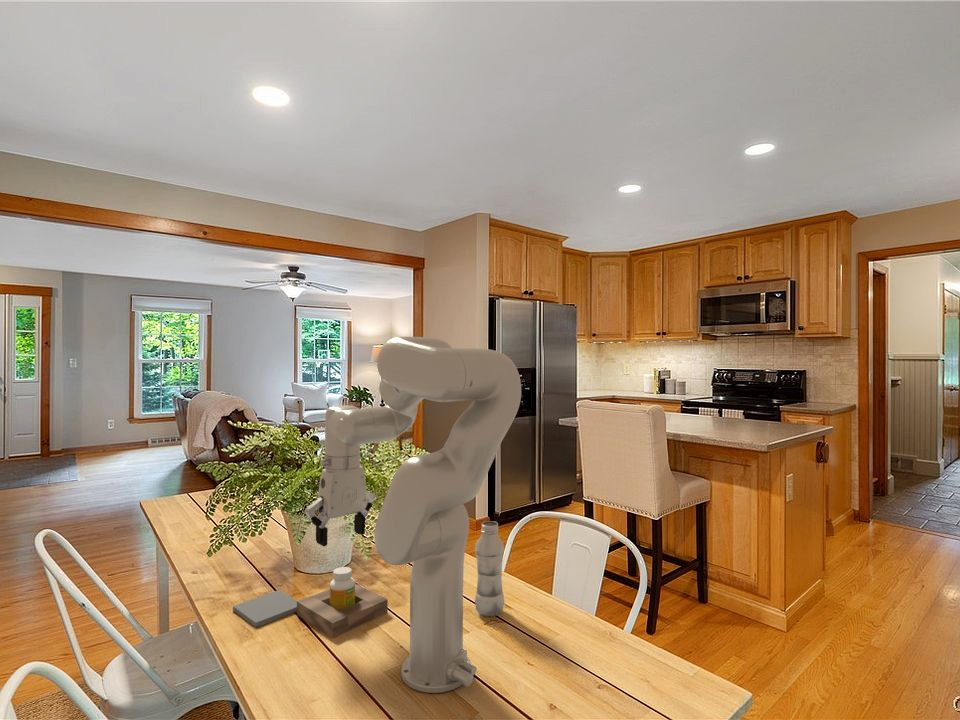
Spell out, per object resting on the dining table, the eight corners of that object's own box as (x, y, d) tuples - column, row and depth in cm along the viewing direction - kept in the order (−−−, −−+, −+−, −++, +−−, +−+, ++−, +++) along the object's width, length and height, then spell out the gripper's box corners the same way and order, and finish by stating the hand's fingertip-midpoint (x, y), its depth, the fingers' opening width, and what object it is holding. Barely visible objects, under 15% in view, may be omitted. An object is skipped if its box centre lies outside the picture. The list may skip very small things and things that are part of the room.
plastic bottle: (510, 612, 117) (510, 523, 117) (490, 624, 113) (490, 530, 112) (488, 603, 122) (489, 517, 122) (468, 613, 117) (468, 523, 117)
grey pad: (303, 608, 119) (303, 604, 119) (255, 627, 111) (255, 622, 111) (279, 594, 126) (279, 589, 126) (232, 610, 118) (232, 606, 118)
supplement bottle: (348, 621, 113) (348, 576, 113) (325, 618, 115) (325, 574, 114) (359, 609, 119) (359, 566, 119) (336, 607, 120) (336, 564, 120)
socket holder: (387, 612, 117) (387, 599, 117) (332, 637, 107) (332, 623, 107) (350, 593, 127) (350, 581, 127) (296, 615, 116) (296, 601, 116)
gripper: (316, 471, 108) (315, 554, 108) (384, 458, 120) (383, 533, 121) (297, 465, 112) (296, 544, 113) (364, 454, 125) (363, 525, 126)
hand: (341, 538), depth 117 cm, fingers open, 9 cm apart
